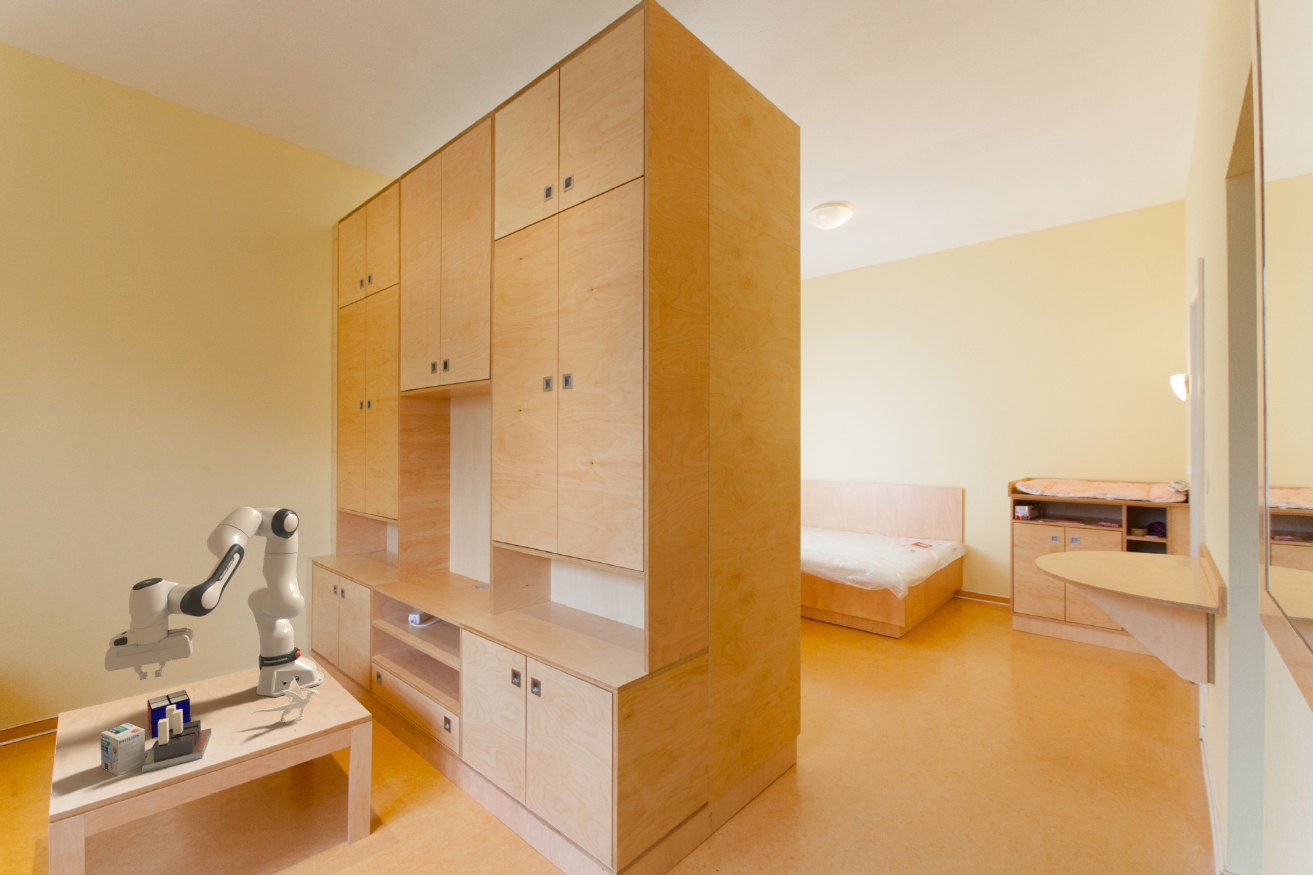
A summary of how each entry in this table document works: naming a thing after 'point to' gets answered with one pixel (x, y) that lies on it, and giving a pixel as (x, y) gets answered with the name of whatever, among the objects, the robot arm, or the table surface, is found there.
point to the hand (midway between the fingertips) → (151, 677)
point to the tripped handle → (177, 722)
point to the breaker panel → (178, 747)
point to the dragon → (293, 700)
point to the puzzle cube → (159, 709)
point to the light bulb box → (122, 748)
